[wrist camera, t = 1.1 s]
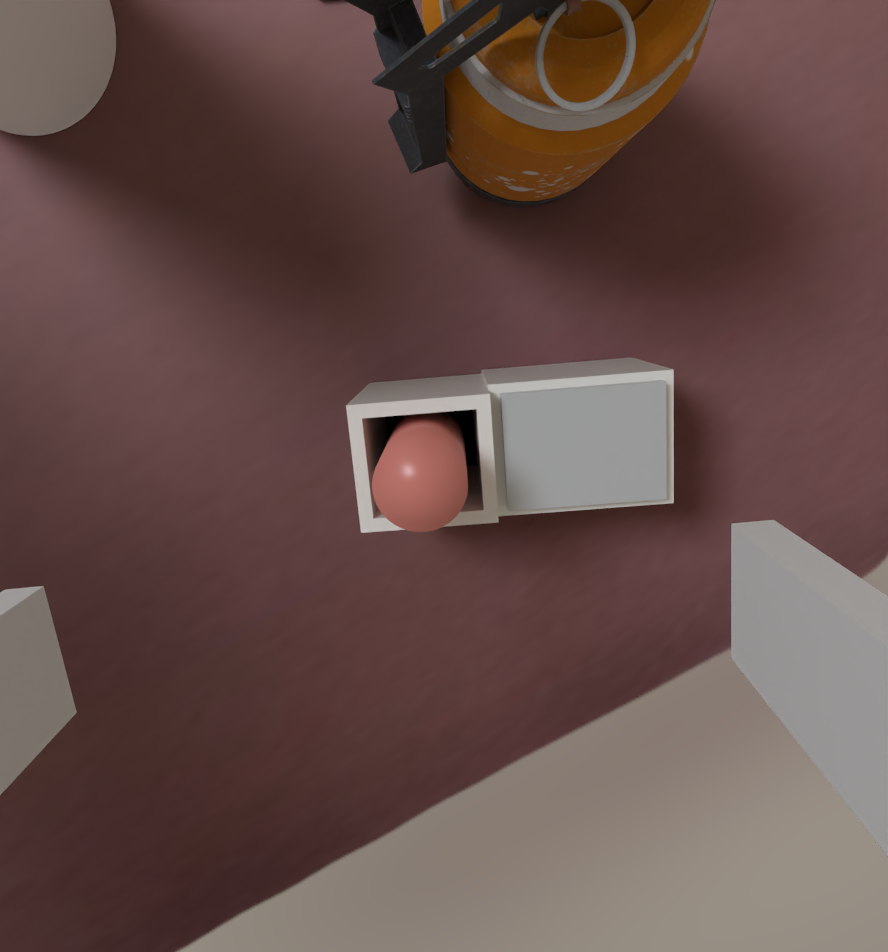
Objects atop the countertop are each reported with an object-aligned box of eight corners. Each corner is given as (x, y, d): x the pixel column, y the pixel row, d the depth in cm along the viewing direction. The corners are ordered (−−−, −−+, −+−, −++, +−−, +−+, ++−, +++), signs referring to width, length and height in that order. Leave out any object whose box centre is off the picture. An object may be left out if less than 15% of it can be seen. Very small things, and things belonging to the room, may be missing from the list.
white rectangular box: (381, 486, 38) (361, 537, 30) (369, 379, 37) (345, 400, 28) (633, 467, 38) (684, 512, 29) (631, 357, 36) (684, 372, 28)
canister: (643, 159, 34) (901, -37, 14) (440, 256, 35) (425, 197, 16) (576, -30, 32) (769, -553, 12) (363, 80, 33) (237, -239, 14)
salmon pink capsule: (394, 482, 34) (377, 535, 26) (387, 410, 33) (367, 443, 25) (467, 476, 34) (471, 528, 26) (461, 404, 33) (464, 435, 25)
